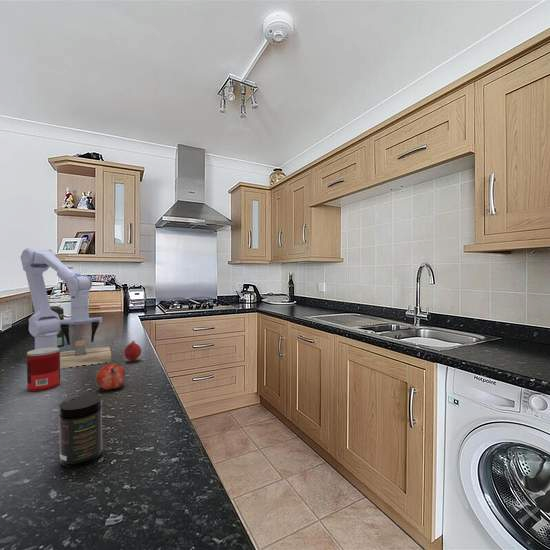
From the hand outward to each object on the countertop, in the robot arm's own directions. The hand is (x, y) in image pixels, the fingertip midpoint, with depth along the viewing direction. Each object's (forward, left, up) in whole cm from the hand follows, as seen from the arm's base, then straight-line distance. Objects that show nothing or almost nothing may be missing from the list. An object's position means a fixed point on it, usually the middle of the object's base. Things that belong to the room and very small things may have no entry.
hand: (80, 343), depth 119 cm
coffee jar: (-37, -11, -7) cm, 39 cm away
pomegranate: (+37, +8, -7) cm, 38 cm away
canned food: (+25, -9, -7) cm, 28 cm away
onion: (+11, +17, -7) cm, 21 cm away
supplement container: (+73, +1, -7) cm, 73 cm away
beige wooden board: (0, 0, -7) cm, 7 cm away
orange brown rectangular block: (0, 0, -7) cm, 7 cm away
